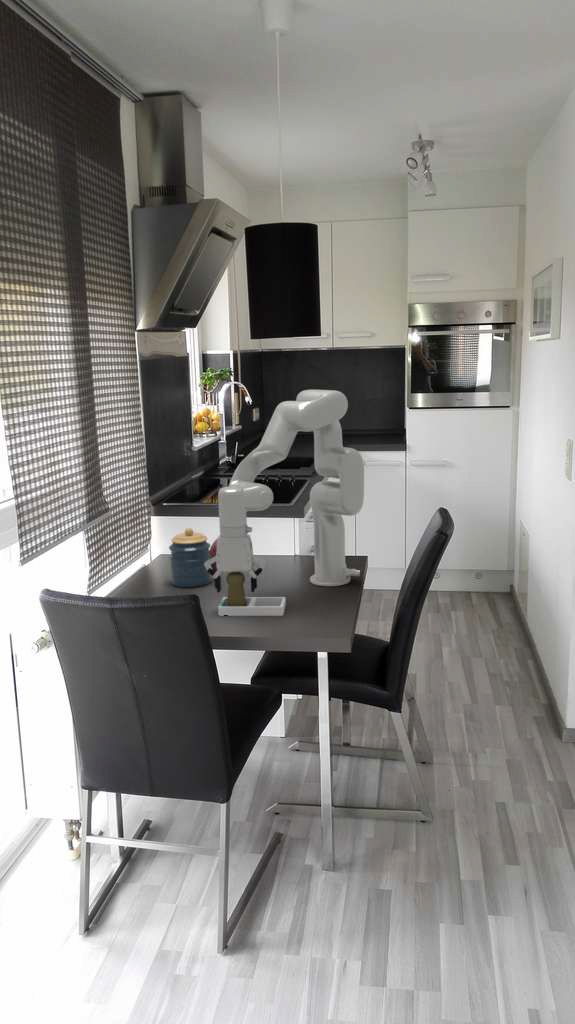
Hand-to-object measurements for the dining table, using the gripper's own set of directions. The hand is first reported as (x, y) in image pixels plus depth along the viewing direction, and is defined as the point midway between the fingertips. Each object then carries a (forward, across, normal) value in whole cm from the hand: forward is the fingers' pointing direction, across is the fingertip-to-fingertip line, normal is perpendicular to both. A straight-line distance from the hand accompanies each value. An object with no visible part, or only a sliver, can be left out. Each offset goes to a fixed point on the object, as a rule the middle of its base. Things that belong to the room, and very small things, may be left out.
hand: (236, 590), depth 232 cm
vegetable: (+6, +12, -46) cm, 47 cm away
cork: (+6, 0, 0) cm, 6 cm away
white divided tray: (+6, -4, 0) cm, 7 cm away
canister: (+6, +18, -28) cm, 35 cm away
